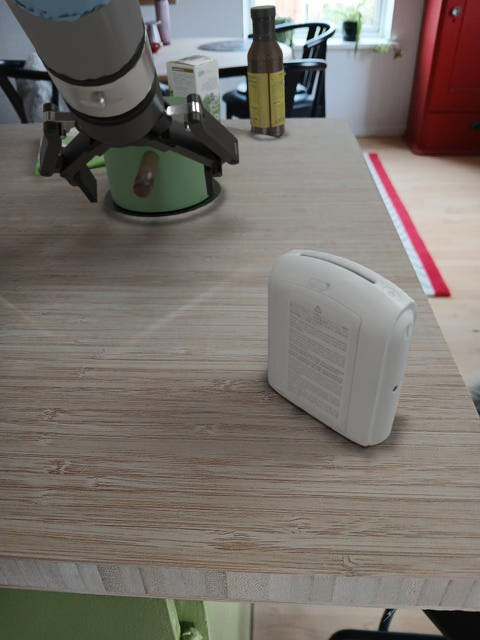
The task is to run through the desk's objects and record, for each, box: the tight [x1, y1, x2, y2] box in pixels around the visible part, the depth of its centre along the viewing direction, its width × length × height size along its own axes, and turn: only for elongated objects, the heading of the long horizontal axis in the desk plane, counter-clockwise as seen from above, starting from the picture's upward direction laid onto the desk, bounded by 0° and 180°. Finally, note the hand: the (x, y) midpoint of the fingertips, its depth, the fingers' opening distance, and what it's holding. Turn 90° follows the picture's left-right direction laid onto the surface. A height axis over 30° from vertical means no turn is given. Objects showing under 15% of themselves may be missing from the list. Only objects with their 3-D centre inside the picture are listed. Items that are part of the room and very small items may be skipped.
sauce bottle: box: [246, 4, 286, 138], centre depth 87 cm, size 6×6×20 cm
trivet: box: [104, 177, 222, 218], centre depth 71 cm, size 16×16×1 cm
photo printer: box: [267, 249, 418, 447], centre depth 35 cm, size 10×4×12 cm, turn 45°
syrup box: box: [165, 54, 222, 124], centre depth 81 cm, size 6×6×14 cm
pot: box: [103, 95, 214, 212], centre depth 63 cm, size 24×15×12 cm, turn 2°
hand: (152, 188), depth 60 cm, fingers open, 13 cm apart
